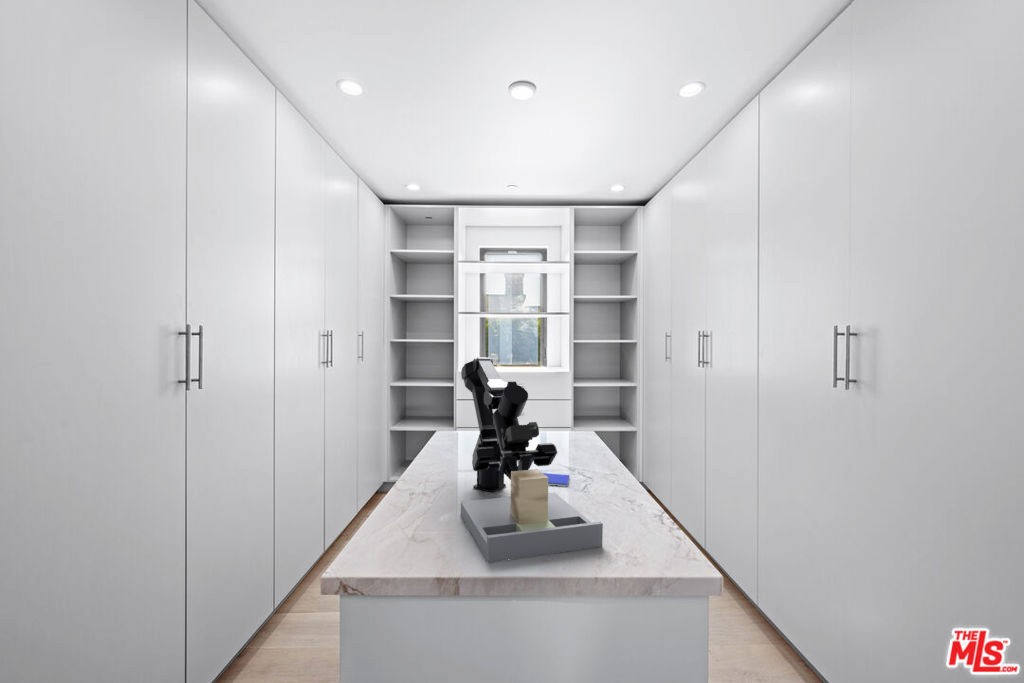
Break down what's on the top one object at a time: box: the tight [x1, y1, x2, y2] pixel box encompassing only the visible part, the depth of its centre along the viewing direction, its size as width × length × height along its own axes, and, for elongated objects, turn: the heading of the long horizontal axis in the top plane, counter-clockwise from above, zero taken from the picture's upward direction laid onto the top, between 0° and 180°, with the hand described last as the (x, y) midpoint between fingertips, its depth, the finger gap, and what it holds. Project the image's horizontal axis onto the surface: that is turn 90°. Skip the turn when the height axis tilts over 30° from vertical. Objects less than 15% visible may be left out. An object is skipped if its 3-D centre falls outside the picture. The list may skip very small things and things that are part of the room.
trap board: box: [460, 492, 604, 564], centre depth 97 cm, size 23×23×4 cm
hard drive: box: [542, 472, 570, 487], centre depth 131 cm, size 2×8×12 cm
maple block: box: [510, 468, 549, 525], centre depth 96 cm, size 6×6×9 cm
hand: (523, 491), depth 99 cm, fingers closed, pressing on maple block
